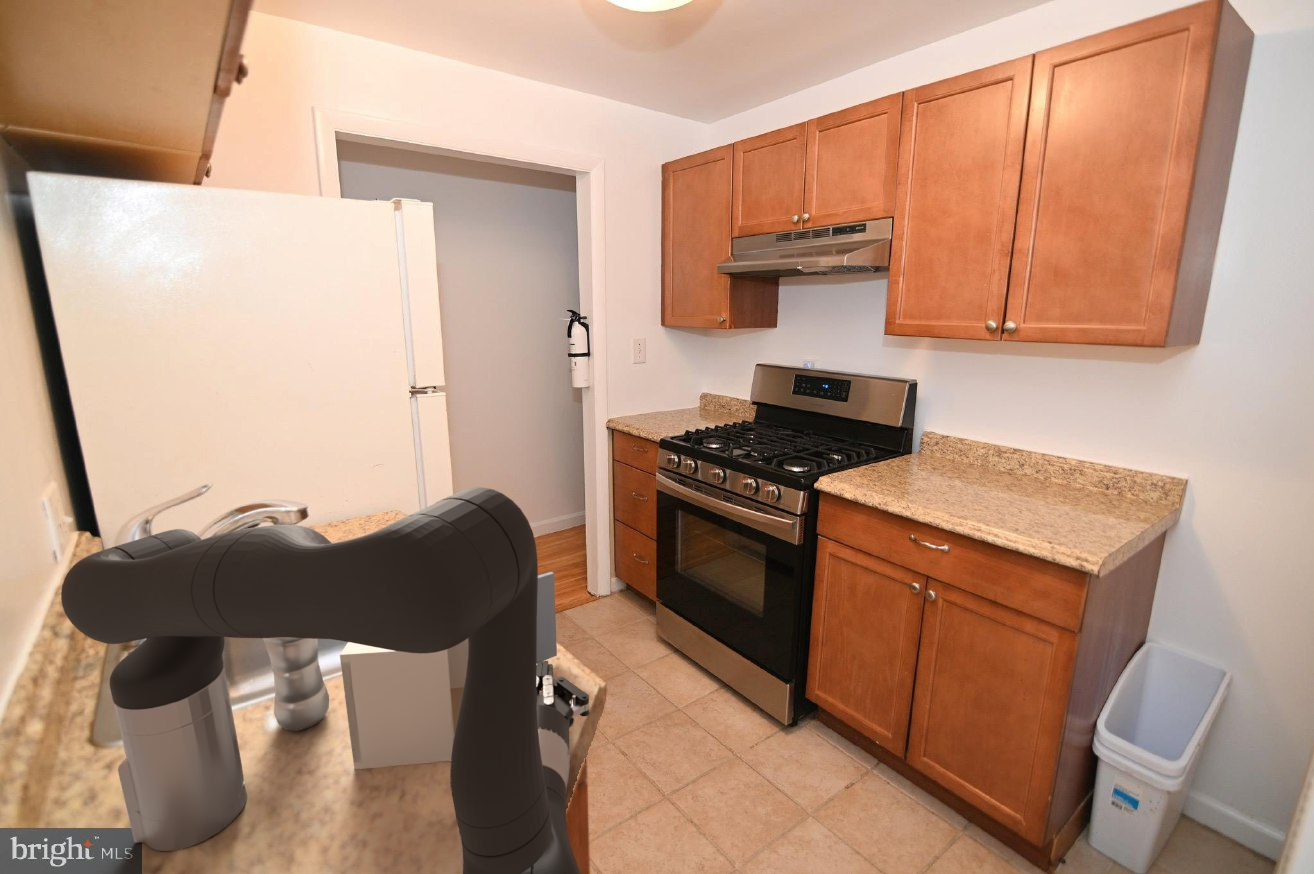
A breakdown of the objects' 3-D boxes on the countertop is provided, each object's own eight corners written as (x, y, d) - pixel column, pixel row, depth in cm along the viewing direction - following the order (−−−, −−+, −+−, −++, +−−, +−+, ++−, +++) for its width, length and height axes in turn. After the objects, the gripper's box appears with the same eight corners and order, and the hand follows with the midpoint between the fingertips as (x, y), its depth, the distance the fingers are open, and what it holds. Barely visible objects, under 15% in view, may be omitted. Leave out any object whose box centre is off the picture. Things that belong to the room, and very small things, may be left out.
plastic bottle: (300, 743, 78) (279, 605, 73) (265, 729, 80) (242, 594, 76) (342, 712, 84) (325, 582, 79) (308, 700, 86) (289, 573, 82)
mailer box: (354, 769, 74) (339, 654, 70) (389, 696, 87) (378, 597, 84) (454, 760, 75) (444, 648, 72) (473, 690, 89) (466, 592, 85)
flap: (557, 656, 96) (554, 572, 92) (475, 689, 88) (468, 597, 84) (554, 654, 96) (551, 570, 93) (472, 685, 88) (466, 595, 85)
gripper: (594, 725, 66) (590, 639, 82) (471, 736, 64) (492, 645, 81) (595, 782, 67) (591, 686, 84) (475, 794, 66) (495, 694, 82)
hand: (543, 666), depth 82 cm, fingers closed
